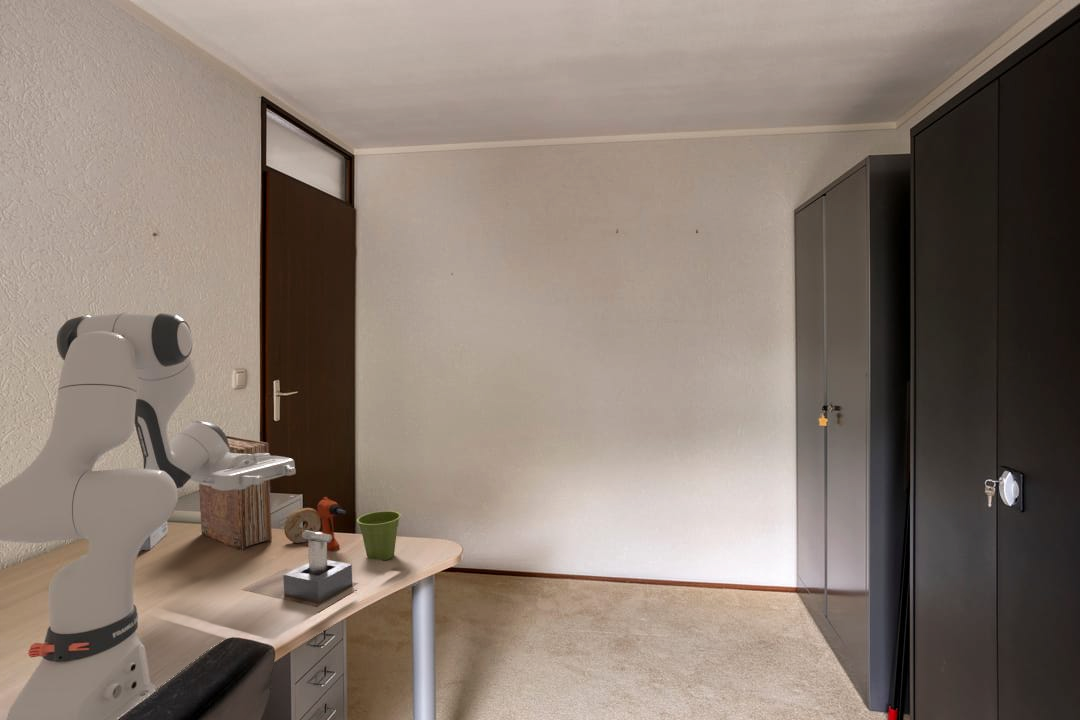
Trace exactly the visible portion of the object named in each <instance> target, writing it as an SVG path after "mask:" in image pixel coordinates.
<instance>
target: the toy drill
mask: <svg viewBox="0 0 1080 720" xmlns="http://www.w3.org/2000/svg"><path fill="white" fill-rule="evenodd" d="M316 509H317V510H316V511H317V512H318V515H319V516H320V520H321V526H322V529H321V530H322V531H321V533H324V534H330V535H331V536H332V539H331V541H330V542H329V543H328V542H327V552H334V551H337V550H339V549H340V544H339V542H338V540H336V538H335V530H334V521H333V520H334V518H333V517H335V516H337V515H340V514H343V515H345V514H347V511H346V510H344V509H342V507H341V506H340V505H339V504H338V503H337V502H336V501H334V500H331V499H329V498H328V497H327V496H324V497H323V498H322V499H321V500H320V501H319V502H318V504H317V508H316Z"/></svg>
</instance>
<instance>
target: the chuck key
mask: <svg viewBox="0 0 1080 720" xmlns="http://www.w3.org/2000/svg"><path fill="white" fill-rule="evenodd" d="M302 536H303V538H306V539H310V540H309V541H307V543H308V563H309V574H311V575H316V576H319V575H321V574H323V573H325V572H327V560H328V551H327V542H328V543H329V542H330V541H331V539H332V536H331V535H330V534H324V533H322V532H320V531H318V532H313V531H307V530H306V531H304V532H303V533H302Z"/></svg>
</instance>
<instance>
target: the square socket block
mask: <svg viewBox="0 0 1080 720" xmlns="http://www.w3.org/2000/svg"><path fill="white" fill-rule="evenodd" d="M291 570H292V571H290V572H288V573H286V574H284V575H283V578H284V596H286V597H290V598H295V599H299V600H303V601H308V602H312V603H316V604H320V603H322V602H323V601H325V600H327V599H328V598H330V597H332V596H334V595H335V594H337V593H339V592H341V591H342V590H344V589H346V588H348V587H349V586H351V585H352V582H353V566H352V563H347V562H341V561H336V560H330V559H327V572H325V573H323V574H321V575H319V576H316V575H311V574H309V562H308V563H305V564H303V565H301V566H298V567H297V568H295V569H291Z"/></svg>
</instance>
